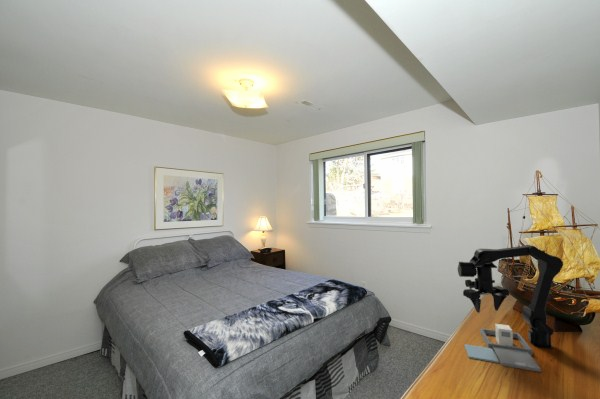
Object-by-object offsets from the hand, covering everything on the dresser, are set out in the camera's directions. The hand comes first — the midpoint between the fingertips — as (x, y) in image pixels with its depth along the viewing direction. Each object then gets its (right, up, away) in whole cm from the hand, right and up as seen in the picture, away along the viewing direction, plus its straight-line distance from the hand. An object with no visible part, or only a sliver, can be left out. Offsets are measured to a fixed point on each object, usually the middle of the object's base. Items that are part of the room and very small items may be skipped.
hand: (487, 311), depth 122 cm
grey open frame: (+2, -12, -10) cm, 16 cm away
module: (+5, -12, -4) cm, 14 cm away
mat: (-11, -12, -12) cm, 21 cm away
